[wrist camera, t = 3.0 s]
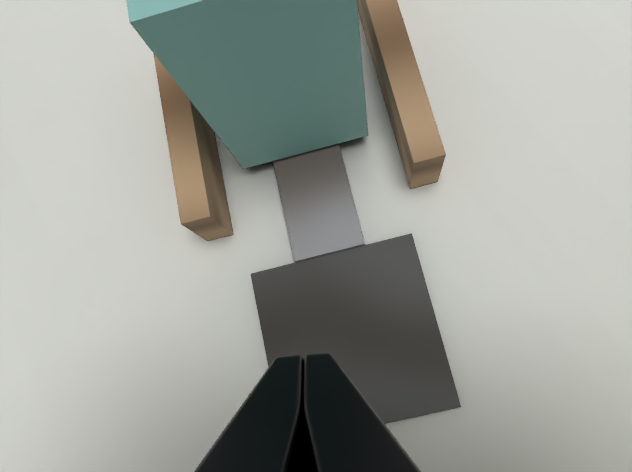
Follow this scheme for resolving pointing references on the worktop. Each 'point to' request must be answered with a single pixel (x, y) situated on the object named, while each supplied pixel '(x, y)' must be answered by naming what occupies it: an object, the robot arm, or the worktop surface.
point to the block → (263, 69)
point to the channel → (336, 240)
